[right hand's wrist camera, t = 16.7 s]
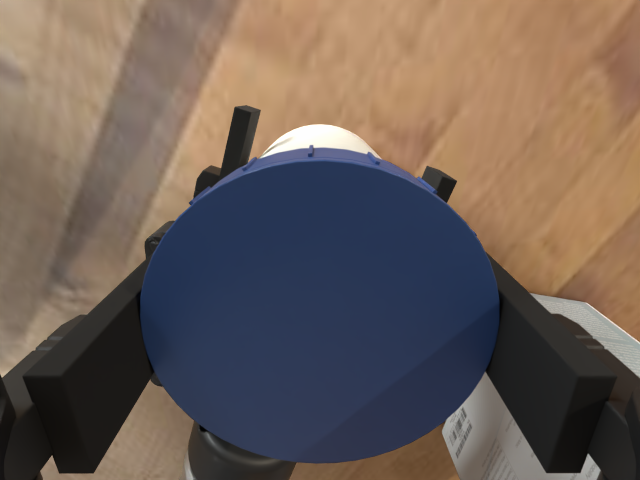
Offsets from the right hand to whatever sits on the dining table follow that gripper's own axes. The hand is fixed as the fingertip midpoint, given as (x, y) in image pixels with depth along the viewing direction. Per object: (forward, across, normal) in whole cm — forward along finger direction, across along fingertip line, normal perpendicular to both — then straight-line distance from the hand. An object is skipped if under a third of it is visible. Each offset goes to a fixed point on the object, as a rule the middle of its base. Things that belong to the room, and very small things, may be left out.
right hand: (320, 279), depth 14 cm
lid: (-3, 0, 0) cm, 3 cm away
